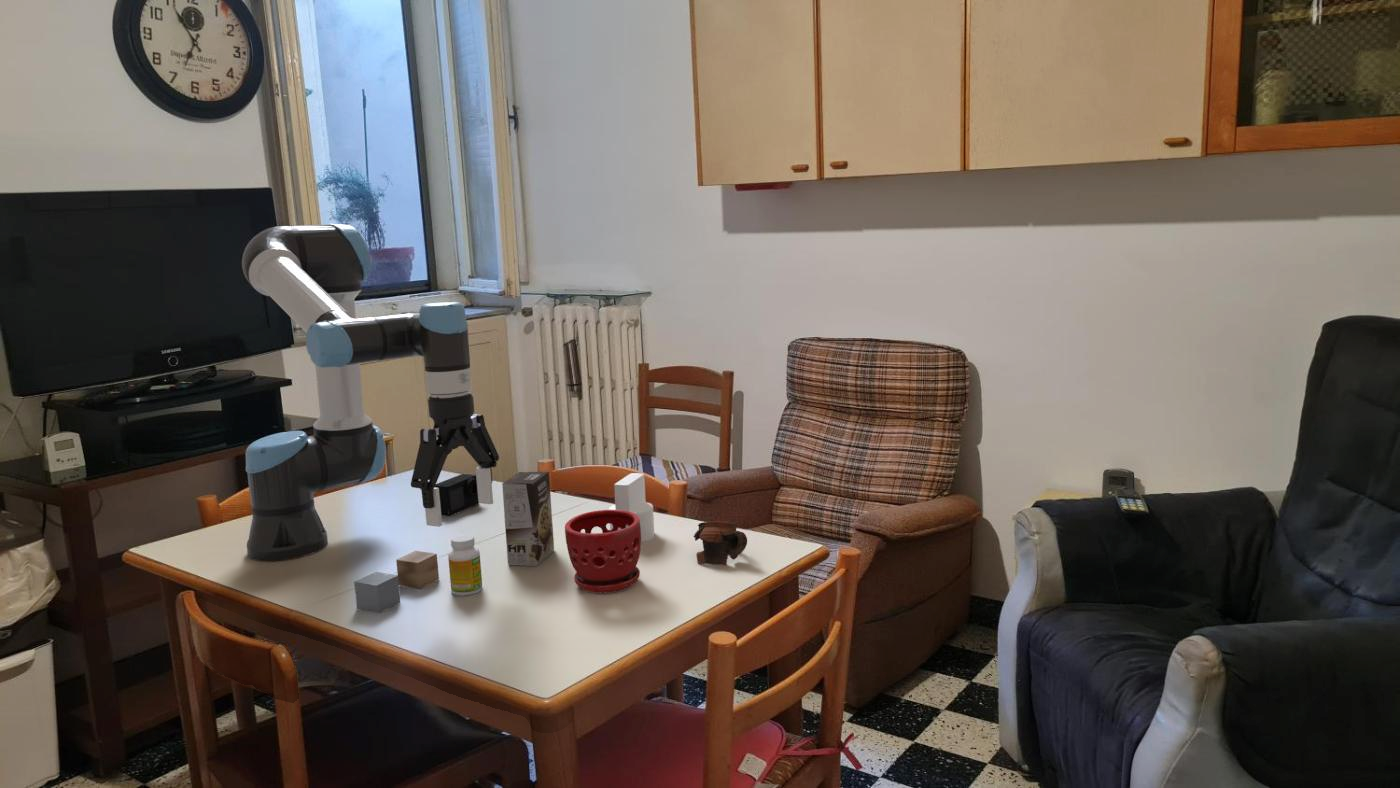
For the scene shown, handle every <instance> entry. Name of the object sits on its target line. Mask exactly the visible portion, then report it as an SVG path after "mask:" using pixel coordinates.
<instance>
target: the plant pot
mask: <svg viewBox="0 0 1400 788" xmlns="http://www.w3.org/2000/svg"><path fill="white" fill-rule="evenodd" d="M608 524H609V525H610V524H612V525H613V529H612V530H610V529H608V528H607V525H608ZM626 525H628V527H626ZM593 528H600V529H601V530H602V531H601V533H600V532H599V533H598V532H597V533H595V532H594V533H593V532H592V530H593ZM618 528H621V530H618ZM582 530H584V532H581V531H582ZM564 534H565V542H566V547H567V552H568V556H569V560H570V562H571V565H572V567H573V569H574V571H575V574H574V576H573V577H574V578H573V579H574V583H575V585H577V587H579V588H580V589H582V590H584V591H586V592H588V593H593V594H611V593H616V592H620V591H621V592H622V591H623V592H624V591H625V590H626V589H628V588H630V587H632V586H633V585H635V584H636V582H637V581H638V580H639V578H640V576H641V574H640V573H641V572H640V569H639V567H637V565H638V562H639V560H640V554H641V547H642V542H641V527H640V520H639V517H638V516H637V515H636V514H634V513H632V512H628V511H623V510H609V509H602V510H593V511H588V512H584V513H581V514H578V515H576V516H574V517H571V519H569V520H568V521H566V523H565V525H564ZM633 542H634V543H633Z"/></svg>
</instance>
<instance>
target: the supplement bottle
mask: <svg viewBox="0 0 1400 788" xmlns="http://www.w3.org/2000/svg"><path fill="white" fill-rule="evenodd" d="M475 543H476V541H475V536H474V535H472V534H459V535H455V536H453V537H451V538H450V546H451V548H452V549H451V550H450V551H449V552H448V554H447V557H448V558H447V560H448V570H449V579H450V581H449V582H450V590H451V593H452V594H453V595H456V596H471V595H474V594H477V593H479V592H480V591H481V590H482V589H483V577H482V576H483V575H482V566H481V565H482V563H481V554H480V550H479V548H478V547H476V546H475Z"/></svg>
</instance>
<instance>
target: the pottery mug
mask: <svg viewBox="0 0 1400 788" xmlns="http://www.w3.org/2000/svg"><path fill="white" fill-rule="evenodd" d="M697 526H698V529H697V530H696V531H695V533H694V535H693V538H694V541H698V540H699V539H700V540H701V541H702V547H703V550H702V551H698V552H696V556H695V557H696V560H697V561H696V562H697V564H698V565H706V564H711V565H719V566H726V565H727V563H728V557H730V559H732V560H735V559H737V558H738V556H739V555H741V554H742V553H743V552H744V551H745V549H746V547H747V545H748V537H747V535H746V534H745V532H743V531H740V530H737V529H738V527H737V525H736V524H735V523H733V522H730V521H729V522H728V521H721V520H720V521H719V520H716V521H715V520H714V521H711V520H710V521H704V522H700V523H698V525H697Z"/></svg>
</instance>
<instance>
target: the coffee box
mask: <svg viewBox="0 0 1400 788" xmlns="http://www.w3.org/2000/svg"><path fill="white" fill-rule="evenodd" d="M551 496H552V495H551V482H550V472H549V471H519V472H518V473H516V474H514V475H513V476H512V477H510V478H508V479H507V480H506V481H504V482H502V497H503V510H504V511H503V512H504V513H503V514H504V528H505V540H506V541H505V542H506V557H507V565H508V566H526V567H527V566H528V567H538V566H539V565H541V564H542V562H544V560H546V559H547V558H548V557H549V556H550V555H551V554H552V553H553V552H554V551H555V542H554V541H555V539H554V528H553V527H554V526H553V512H552V510H553V509H552V498H551Z"/></svg>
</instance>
